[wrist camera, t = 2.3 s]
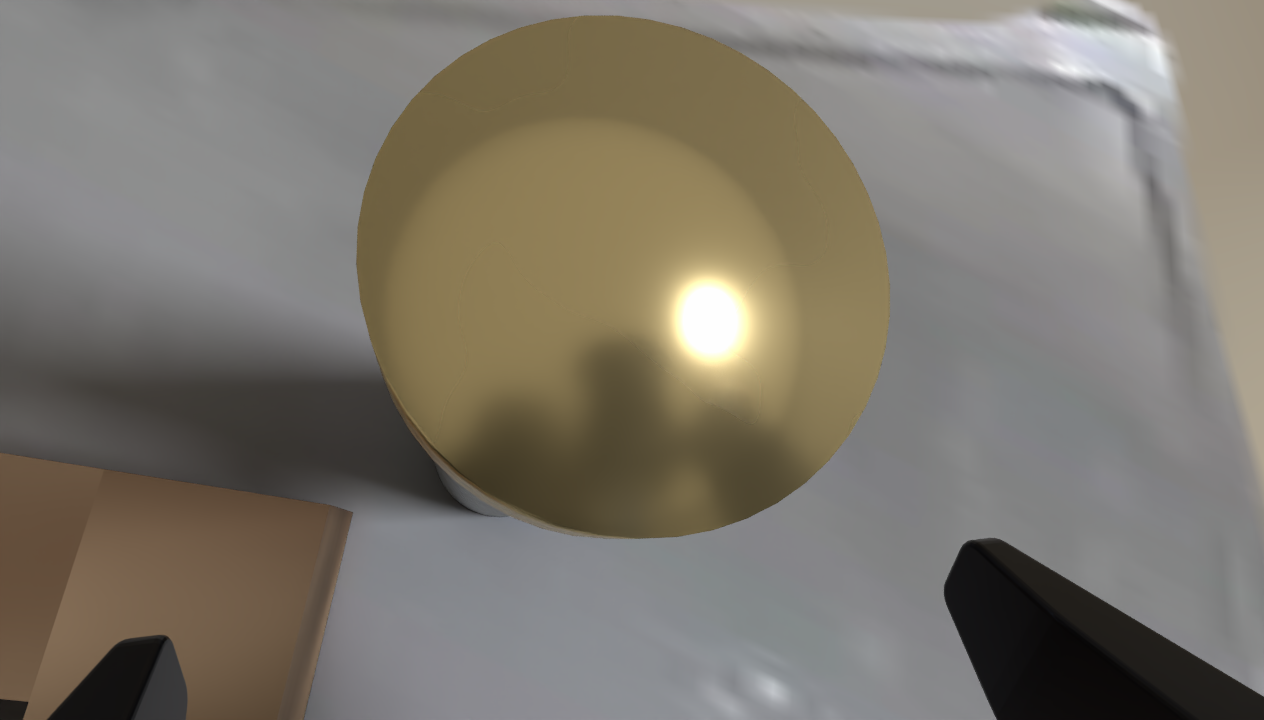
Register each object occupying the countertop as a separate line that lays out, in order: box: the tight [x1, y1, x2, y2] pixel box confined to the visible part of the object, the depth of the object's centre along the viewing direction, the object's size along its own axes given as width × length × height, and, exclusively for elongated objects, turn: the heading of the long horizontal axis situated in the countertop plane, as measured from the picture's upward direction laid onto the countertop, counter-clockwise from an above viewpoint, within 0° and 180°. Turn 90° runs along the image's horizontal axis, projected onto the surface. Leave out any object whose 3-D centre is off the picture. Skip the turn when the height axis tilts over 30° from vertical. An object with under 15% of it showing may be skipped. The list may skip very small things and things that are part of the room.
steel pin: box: [356, 16, 890, 539], centre depth 12 cm, size 4×4×13 cm
